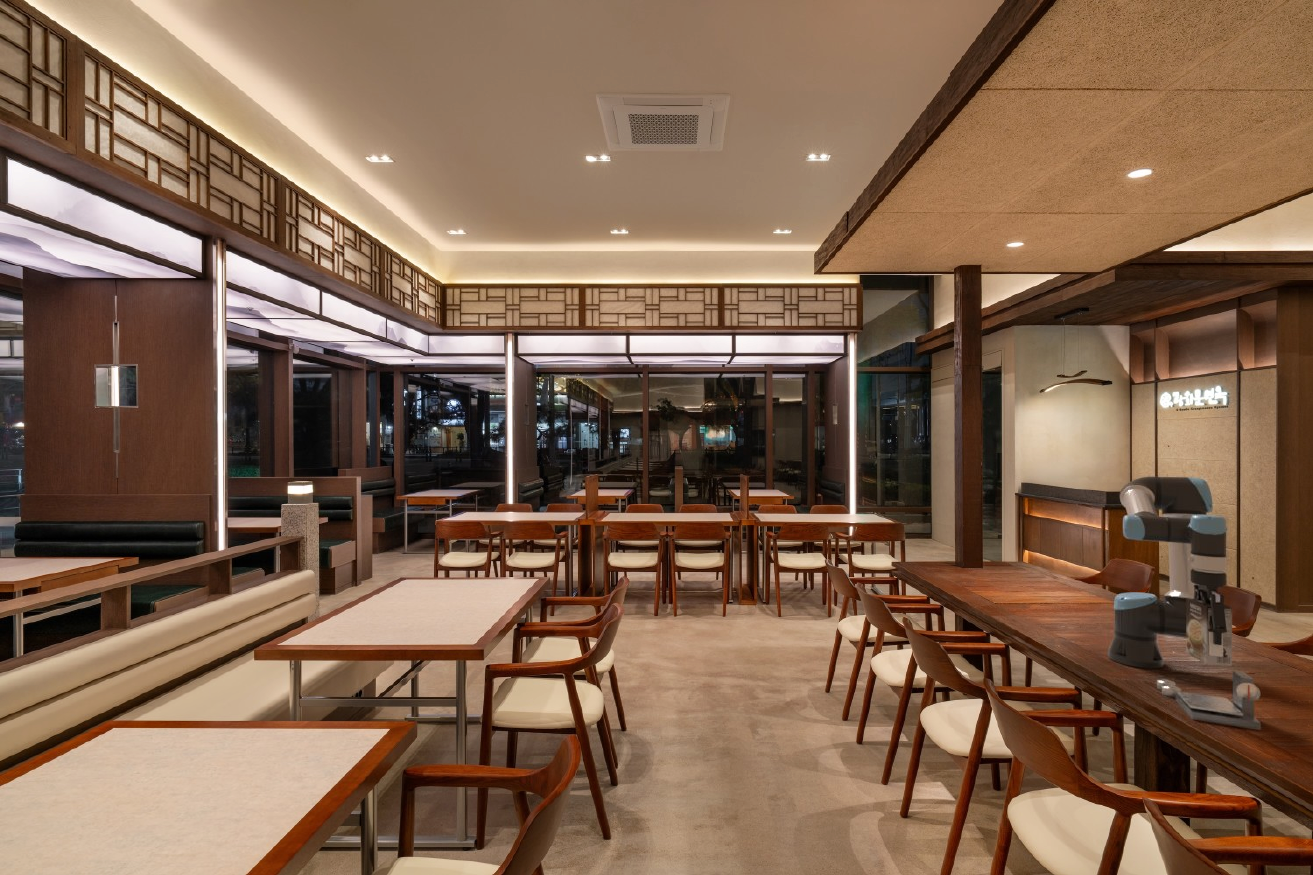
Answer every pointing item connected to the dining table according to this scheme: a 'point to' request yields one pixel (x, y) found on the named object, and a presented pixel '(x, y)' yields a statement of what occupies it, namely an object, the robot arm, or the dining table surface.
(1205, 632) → the coffee box
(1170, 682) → the cylinder
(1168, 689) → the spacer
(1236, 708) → the scale
